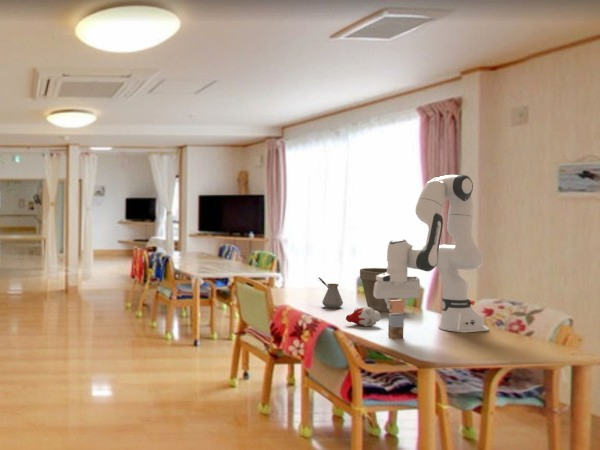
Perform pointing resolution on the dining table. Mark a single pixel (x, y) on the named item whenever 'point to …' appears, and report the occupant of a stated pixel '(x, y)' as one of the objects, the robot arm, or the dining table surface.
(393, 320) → the block
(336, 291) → the coffee pot
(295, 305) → the dining table surface
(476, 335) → the dining table surface
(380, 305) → the plant pot
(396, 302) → the terracotta block
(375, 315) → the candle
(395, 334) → the tower base
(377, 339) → the dining table surface
